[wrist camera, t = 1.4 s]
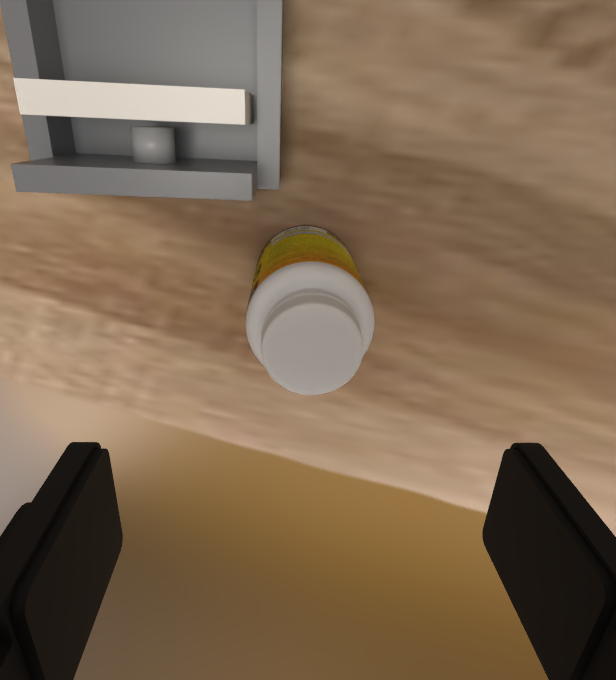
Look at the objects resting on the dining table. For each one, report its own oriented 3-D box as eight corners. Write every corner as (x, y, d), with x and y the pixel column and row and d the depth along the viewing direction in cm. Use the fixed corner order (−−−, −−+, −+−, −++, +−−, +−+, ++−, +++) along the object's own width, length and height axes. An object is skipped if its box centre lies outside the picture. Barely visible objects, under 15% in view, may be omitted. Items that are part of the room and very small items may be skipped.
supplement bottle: (248, 230, 26) (226, 292, 17) (348, 217, 26) (381, 272, 17) (264, 323, 28) (253, 421, 19) (356, 310, 28) (389, 404, 19)
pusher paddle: (253, 95, 22) (244, 89, 18) (253, 123, 23) (245, 124, 18) (70, 86, 22) (13, 77, 17) (74, 115, 22) (20, 114, 18)
